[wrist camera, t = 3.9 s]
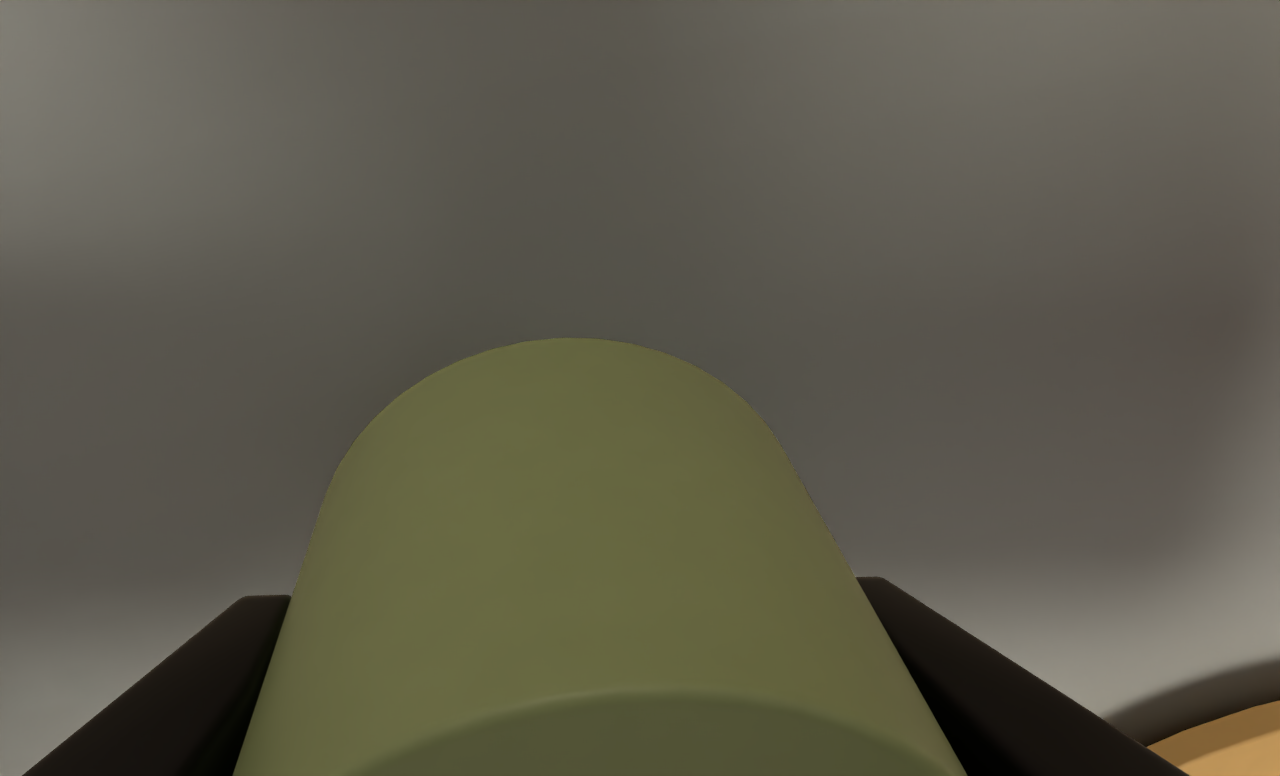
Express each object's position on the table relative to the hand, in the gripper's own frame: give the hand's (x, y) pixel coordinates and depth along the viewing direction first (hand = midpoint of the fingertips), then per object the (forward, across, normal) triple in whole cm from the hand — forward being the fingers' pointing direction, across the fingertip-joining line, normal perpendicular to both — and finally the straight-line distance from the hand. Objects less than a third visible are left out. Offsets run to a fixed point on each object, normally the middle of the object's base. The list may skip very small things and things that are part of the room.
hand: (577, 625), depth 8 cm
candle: (+1, 0, 0) cm, 1 cm away
